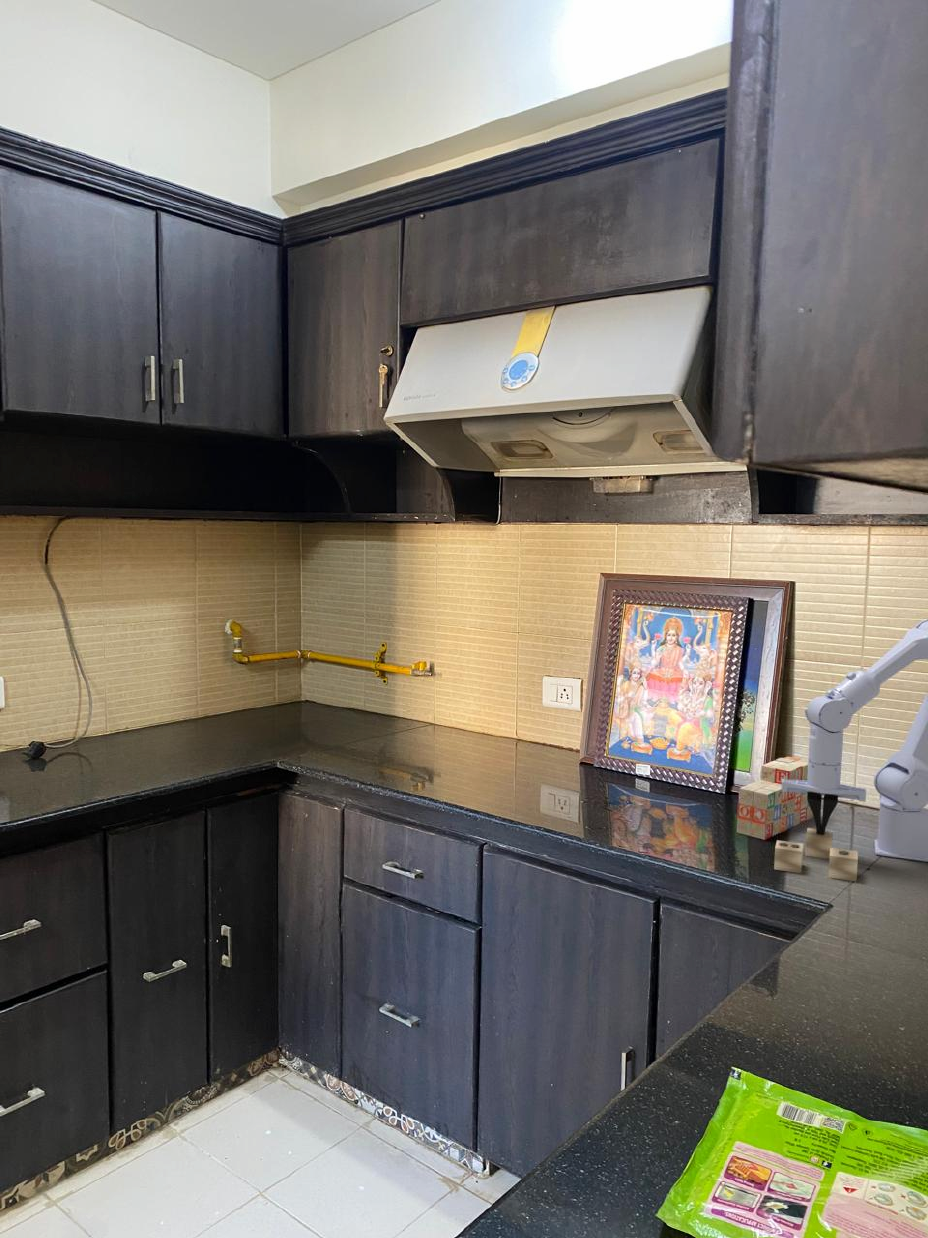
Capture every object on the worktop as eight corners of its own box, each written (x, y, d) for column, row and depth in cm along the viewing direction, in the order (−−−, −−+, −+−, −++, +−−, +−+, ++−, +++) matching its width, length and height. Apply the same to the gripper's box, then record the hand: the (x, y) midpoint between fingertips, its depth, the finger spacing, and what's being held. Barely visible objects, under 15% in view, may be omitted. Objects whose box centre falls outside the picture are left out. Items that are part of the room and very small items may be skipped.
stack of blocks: (765, 841, 179) (768, 779, 178) (735, 833, 183) (738, 772, 182) (813, 817, 194) (816, 760, 193) (785, 811, 199) (787, 754, 197)
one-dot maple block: (856, 873, 163) (857, 850, 163) (856, 882, 159) (857, 858, 158) (829, 869, 165) (830, 846, 164) (828, 878, 161) (829, 854, 160)
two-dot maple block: (802, 865, 166) (803, 843, 166) (800, 873, 162) (802, 851, 162) (775, 861, 168) (777, 839, 168) (774, 870, 164) (775, 847, 164)
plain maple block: (831, 852, 174) (833, 831, 173) (831, 859, 169) (832, 838, 169) (806, 848, 175) (807, 827, 175) (805, 856, 171) (806, 835, 171)
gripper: (867, 761, 172) (862, 832, 173) (784, 752, 177) (781, 821, 179) (867, 770, 165) (863, 844, 166) (782, 761, 171) (778, 832, 172)
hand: (820, 833), depth 172 cm, fingers closed, pressing on plain maple block
